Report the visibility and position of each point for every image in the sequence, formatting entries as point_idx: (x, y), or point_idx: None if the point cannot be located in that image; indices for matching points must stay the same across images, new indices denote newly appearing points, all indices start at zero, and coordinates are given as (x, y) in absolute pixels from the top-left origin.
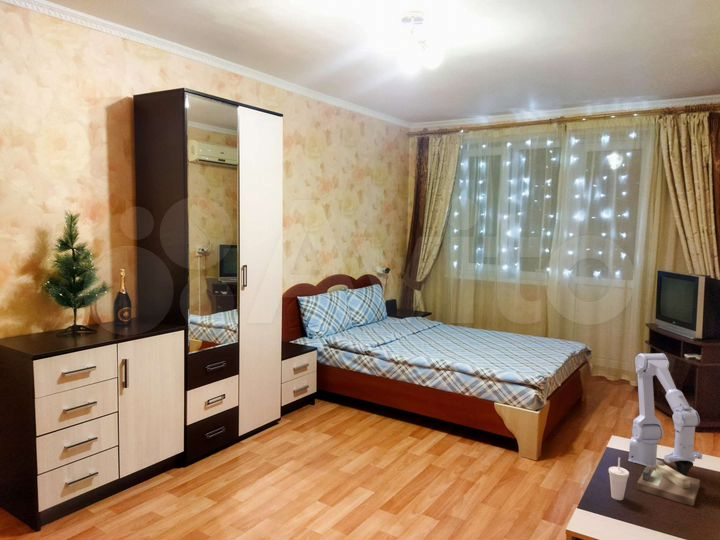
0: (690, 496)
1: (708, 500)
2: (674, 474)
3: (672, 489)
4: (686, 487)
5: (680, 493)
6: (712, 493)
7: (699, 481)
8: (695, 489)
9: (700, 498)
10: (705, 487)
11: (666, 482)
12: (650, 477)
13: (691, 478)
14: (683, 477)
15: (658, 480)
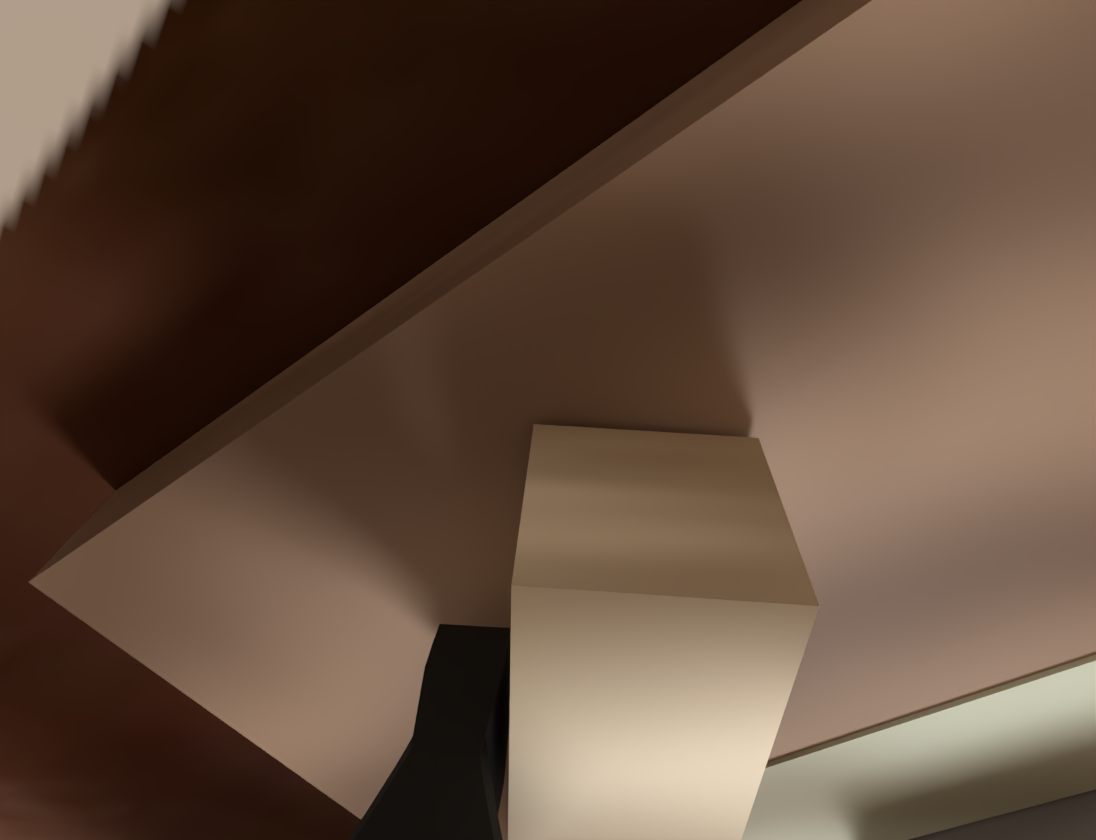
0: (998, 40)
1: (305, 22)
2: (726, 829)
3: (1036, 470)
4: (641, 434)
5: (1086, 270)
6: (6, 250)
7: (81, 546)
8: (451, 324)
9: (428, 155)
10: (20, 445)
11: (820, 678)
12: (924, 828)
13: (177, 651)
14: (639, 695)
15: (901, 749)
